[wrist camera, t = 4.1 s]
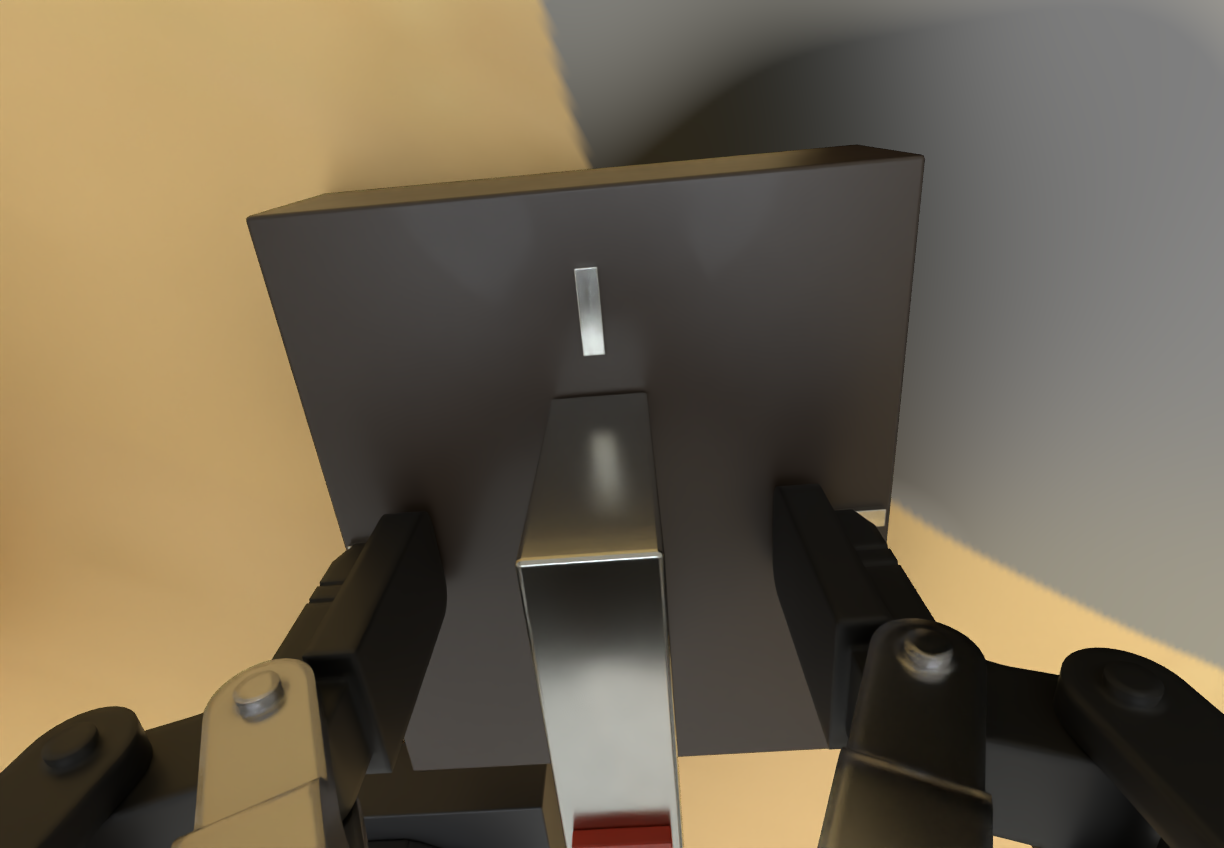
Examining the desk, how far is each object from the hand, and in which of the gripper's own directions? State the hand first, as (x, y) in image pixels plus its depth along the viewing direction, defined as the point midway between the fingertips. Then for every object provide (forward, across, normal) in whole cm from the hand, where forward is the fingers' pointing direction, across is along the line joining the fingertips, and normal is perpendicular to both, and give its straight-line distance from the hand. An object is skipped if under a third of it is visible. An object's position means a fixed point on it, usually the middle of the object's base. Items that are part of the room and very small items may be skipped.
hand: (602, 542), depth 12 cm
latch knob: (0, 0, 0) cm, 0 cm away
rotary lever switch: (+3, 0, 0) cm, 3 cm away
